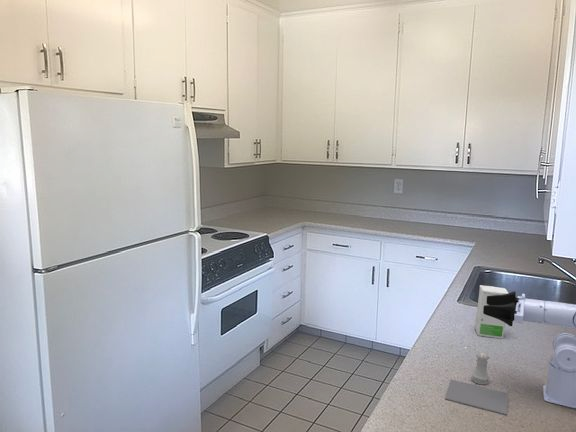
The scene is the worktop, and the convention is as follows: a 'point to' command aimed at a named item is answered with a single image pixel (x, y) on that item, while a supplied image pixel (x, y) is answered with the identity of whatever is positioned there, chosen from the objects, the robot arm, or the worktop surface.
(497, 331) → the skincare box
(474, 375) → the rook chess piece
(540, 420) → the worktop surface
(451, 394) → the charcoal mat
